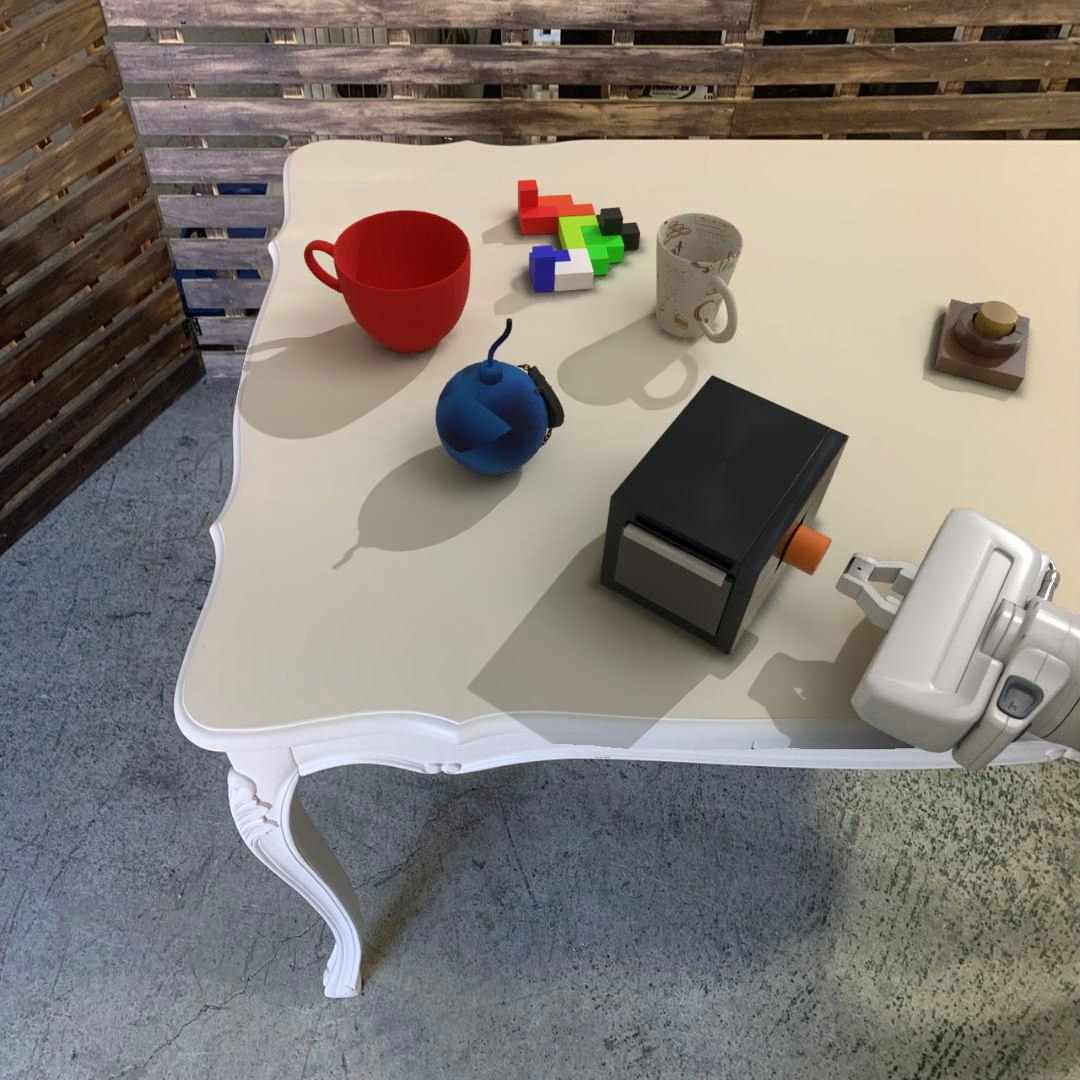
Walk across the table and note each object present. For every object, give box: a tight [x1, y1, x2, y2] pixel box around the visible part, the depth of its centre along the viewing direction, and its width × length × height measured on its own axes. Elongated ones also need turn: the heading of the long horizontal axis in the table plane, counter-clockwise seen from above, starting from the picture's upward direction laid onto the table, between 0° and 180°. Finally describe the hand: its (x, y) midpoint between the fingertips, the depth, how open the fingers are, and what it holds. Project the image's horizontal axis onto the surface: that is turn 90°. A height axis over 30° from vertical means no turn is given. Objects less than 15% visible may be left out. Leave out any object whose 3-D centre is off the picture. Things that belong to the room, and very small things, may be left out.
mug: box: [655, 212, 744, 344], centre depth 90 cm, size 8×13×10 cm, turn 26°
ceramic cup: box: [303, 209, 472, 354], centre depth 89 cm, size 13×17×10 cm
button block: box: [934, 298, 1031, 392], centre depth 92 cm, size 8×10×4 cm
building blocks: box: [517, 179, 641, 293], centre depth 100 cm, size 15×13×4 cm
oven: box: [598, 374, 850, 655], centre depth 71 cm, size 12×17×11 cm
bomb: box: [434, 317, 565, 475], centre depth 76 cm, size 10×11×15 cm
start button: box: [974, 300, 1019, 337], centre depth 90 cm, size 4×4×2 cm
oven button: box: [782, 525, 832, 576], centre depth 69 cm, size 2×3×3 cm
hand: (844, 569), depth 68 cm, fingers closed
